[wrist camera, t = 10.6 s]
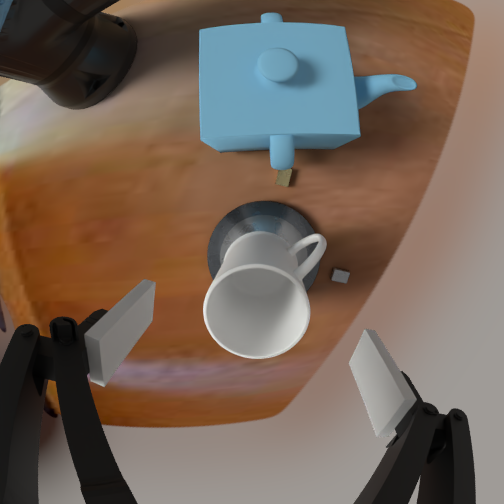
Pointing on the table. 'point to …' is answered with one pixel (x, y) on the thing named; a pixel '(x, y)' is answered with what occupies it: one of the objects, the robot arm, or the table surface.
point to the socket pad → (268, 220)
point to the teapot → (282, 88)
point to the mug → (261, 295)
